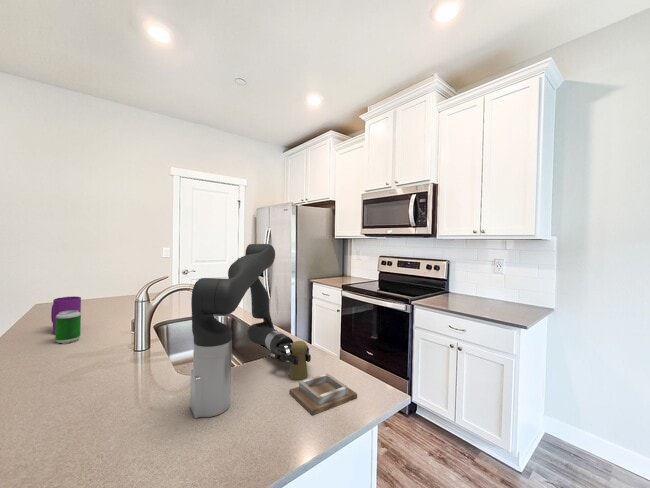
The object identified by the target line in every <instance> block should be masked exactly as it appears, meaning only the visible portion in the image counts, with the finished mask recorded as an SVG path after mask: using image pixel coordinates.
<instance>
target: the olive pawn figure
mask: <svg viewBox="0 0 650 488" xmlns="http://www.w3.org/2000/svg"><path fill="white" fill-rule="evenodd" d="M307 346H308V344H307V343H306V342H305V341H304V340H295V341H293V343H292V345H291V351H292V352H293V353H292V355H293V356H295V357H297V358H298V365H294V364H292V363H290V366H289V373H288V378H289V380H290V379H291V380H292V381H297V382H300V381H303V380H307V379H308V375H309V374H308V365H307V361H306V355H305V352H306V350H307Z"/></svg>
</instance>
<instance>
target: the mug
mask: <svg viewBox="0 0 650 488" xmlns="http://www.w3.org/2000/svg"><path fill="white" fill-rule="evenodd" d="M81 300H82V297H81V296H63V297H56V298H53V301H52V302H53V303H52V305H51V313H50V318H51V323H52V334H54V335H56V315H58V314H59V312H63V311H69V310H77V311H78V312H80V313H81V312H82V309H81V308H82V301H81ZM81 314H82V313H81Z"/></svg>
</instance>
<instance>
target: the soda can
mask: <svg viewBox="0 0 650 488" xmlns="http://www.w3.org/2000/svg"><path fill="white" fill-rule="evenodd" d="M81 316H82V313H80V312H78V311H77V310H69V311H63V312H59V314H58V315H56V334H55V342H56V343H58V344H59V343H67V344H71V343H70V342H72V343H74V342H73V341H75V342H77V341H79V339H80V338H81V325H82V324H81V321H82V317H81ZM76 340H77V341H76Z"/></svg>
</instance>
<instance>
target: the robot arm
mask: <svg viewBox="0 0 650 488" xmlns="http://www.w3.org/2000/svg"><path fill="white" fill-rule="evenodd" d="M244 253H245V254H244V255H243V256H240V257H239V258H237V259H236V260H235V261H233V263H231V264H230V265H229V268H228V271H227V278H219V277H217V278H216V277H201V278H198V279H197V280H196V281H195V283H194V285H193V287H192V292H191V302H190V303H191V333H192V336H193V352H192V353H193V354H192V356H193V358H192V369H191V371H190V390H189V392H190V393H189V394H190V397H189V404H190V405H189V407H190V410H191V412H192V416H193V418H194V419H198V418H210V417H214V416H215V417H216V416H218V415H221V414H223V413H224V412H226V411H227V410H228V409H229V408H230V406H231V396H232V395H231V393H232V392H231V388H232V387H231V386H232V358H233V357H232V354H233V353H232V352H233V330H232V327H231V326H229V325H227V324H225V323H223V322H221V321H219V320H218V319H217V318H216V317H215V315H216V316H227V315H231V314H232V313H233V312H235V311H236V309H238V307H239V305H240V303H241V302H242V299H243V298H244V296H245V295H246V293H247V291H248V290H249V289H250V296H251V298H250V299H251V315H252V317H253V318H254V319H258V320H263V321H262V322H257V323H253V324H251V325H250V326H249V327H248V329H247V336H248V339H249V340H250V341H251V342H252V343H254V344H257V345H262V346H264V347H266V348H267V350H268V351H270V359H272V360H275V361H277V362H280V363H285V362H287V363H290V364H291V363H292V364H294V365H298V358H297V357H295V356H293V355H292V353H293V352H292V351H291V345H292V343H293V342H294V340H293V339H292V338H291V337H290V336H288V335H287V334H285V333H283V332H281V331H278V330H277V329H275V326H274V324H273V321H272V317H271V313H270V297H269V293H268V291H267V289H266V287H265V286H264V284H263V283H262V282H261V280H260V276H261V275H262V274H263V273H264V272H265V271H266V270H267V269H269V268H270V267H271V266H273V264H274V262H275V259H276V250H275V247H274V246H273V245H271V244H269V243H250V244H248V245H247V246H246V249H245V252H244ZM305 355H306V363H310V362H311V359H312V357H311V354H310V348H309V346H308V345H307V350H306V352H305Z"/></svg>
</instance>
